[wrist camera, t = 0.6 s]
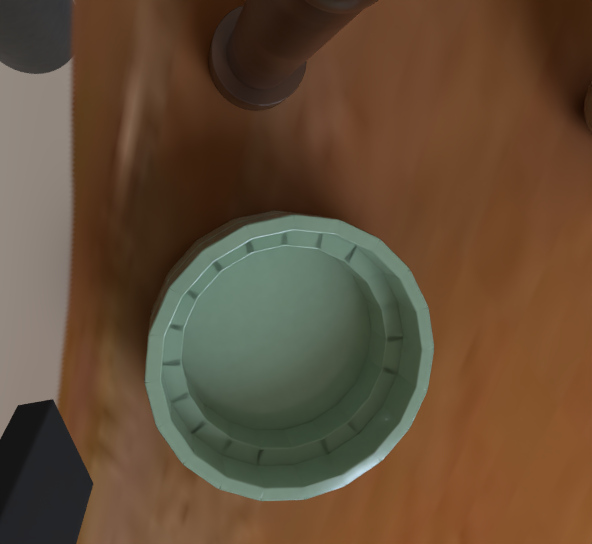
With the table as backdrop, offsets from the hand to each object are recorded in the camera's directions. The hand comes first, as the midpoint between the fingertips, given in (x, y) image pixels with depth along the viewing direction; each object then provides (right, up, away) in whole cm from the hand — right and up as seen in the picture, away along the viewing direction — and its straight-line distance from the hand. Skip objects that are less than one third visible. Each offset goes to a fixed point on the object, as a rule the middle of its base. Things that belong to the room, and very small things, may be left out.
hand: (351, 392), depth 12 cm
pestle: (-4, +15, +18) cm, 23 cm away
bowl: (-2, -1, +21) cm, 21 cm away
